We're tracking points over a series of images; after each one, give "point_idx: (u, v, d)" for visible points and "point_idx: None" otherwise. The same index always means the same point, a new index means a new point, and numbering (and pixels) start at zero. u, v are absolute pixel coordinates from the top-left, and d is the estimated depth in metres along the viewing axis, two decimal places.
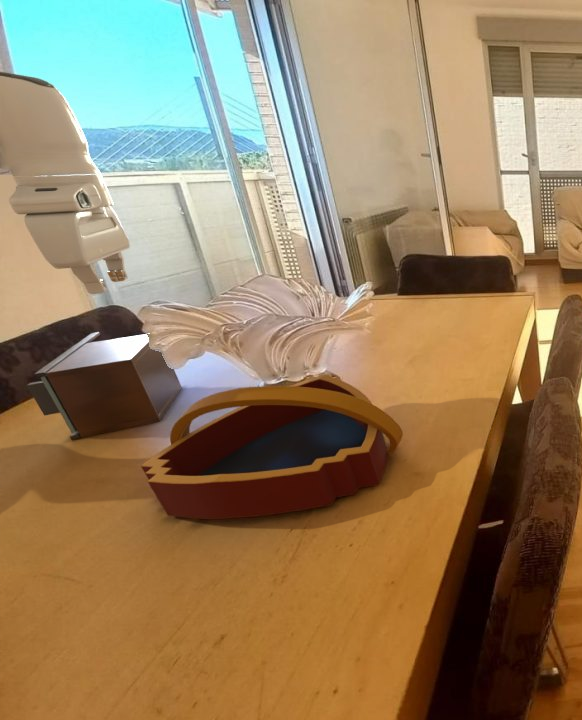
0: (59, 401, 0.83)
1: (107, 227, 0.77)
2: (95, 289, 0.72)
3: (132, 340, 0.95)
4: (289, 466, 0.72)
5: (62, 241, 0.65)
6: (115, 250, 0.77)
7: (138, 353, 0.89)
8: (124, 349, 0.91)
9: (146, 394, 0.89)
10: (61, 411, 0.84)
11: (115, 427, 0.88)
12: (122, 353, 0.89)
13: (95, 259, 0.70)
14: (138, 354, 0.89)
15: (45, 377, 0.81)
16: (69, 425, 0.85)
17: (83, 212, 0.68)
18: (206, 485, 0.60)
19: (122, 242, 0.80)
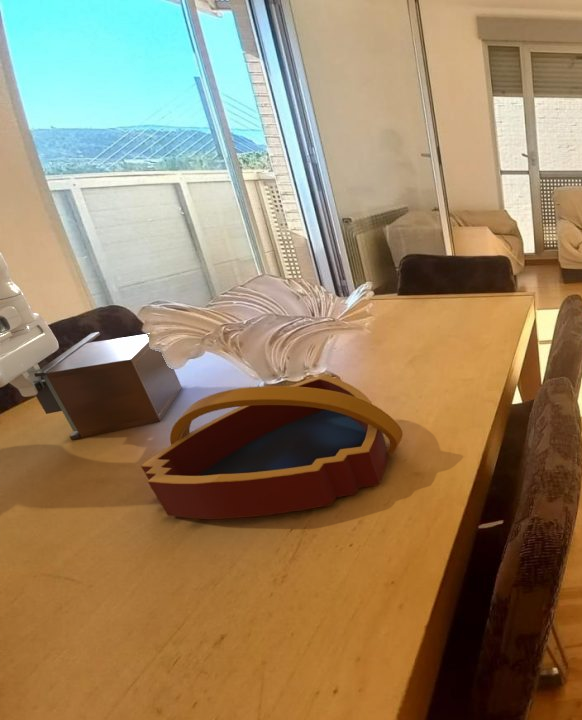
0: None
1: (32, 337, 0.82)
2: (29, 392, 0.80)
3: (132, 340, 0.95)
4: (289, 466, 0.72)
5: None
6: (40, 358, 0.82)
7: (138, 353, 0.89)
8: (124, 349, 0.91)
9: (146, 394, 0.89)
10: (63, 409, 0.84)
11: (115, 427, 0.88)
12: (122, 353, 0.89)
13: (14, 376, 0.75)
14: (138, 354, 0.89)
15: None
16: (71, 423, 0.85)
17: (1, 336, 0.73)
18: (206, 485, 0.60)
19: (49, 347, 0.85)
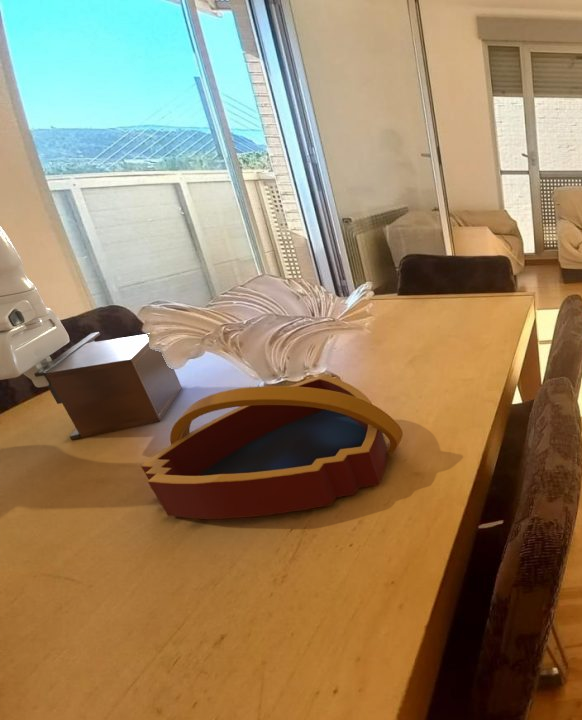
0: None
1: (45, 330, 0.85)
2: (41, 383, 0.84)
3: (132, 340, 0.95)
4: (289, 466, 0.72)
5: None
6: (52, 350, 0.86)
7: (138, 353, 0.89)
8: (124, 349, 0.91)
9: (146, 394, 0.89)
10: None
11: (115, 427, 0.88)
12: (122, 353, 0.89)
13: (28, 367, 0.79)
14: (138, 354, 0.89)
15: None
16: None
17: (16, 328, 0.77)
18: (206, 485, 0.60)
19: (60, 340, 0.89)
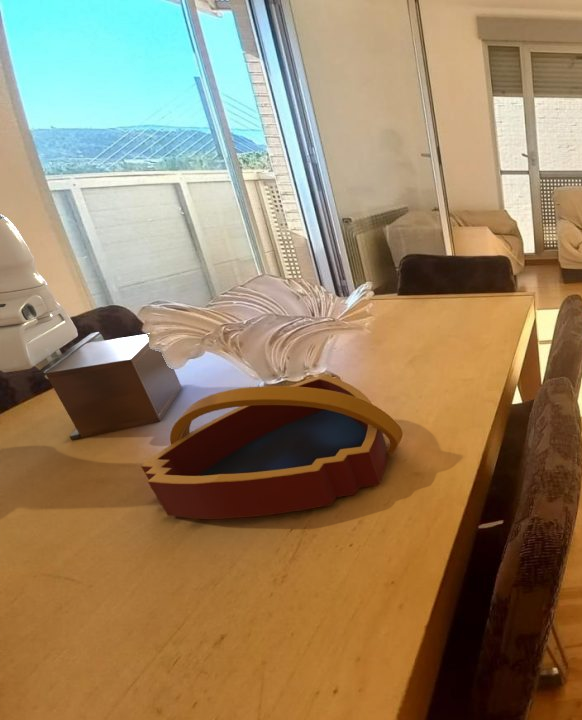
0: None
1: (55, 324, 0.89)
2: None
3: (132, 340, 0.95)
4: (289, 466, 0.72)
5: (9, 350, 0.77)
6: (62, 344, 0.89)
7: (138, 353, 0.89)
8: (124, 349, 0.91)
9: (146, 394, 0.89)
10: None
11: (115, 427, 0.88)
12: (122, 353, 0.89)
13: (40, 359, 0.82)
14: (138, 354, 0.89)
15: None
16: None
17: (28, 322, 0.80)
18: (206, 485, 0.60)
19: (69, 334, 0.92)
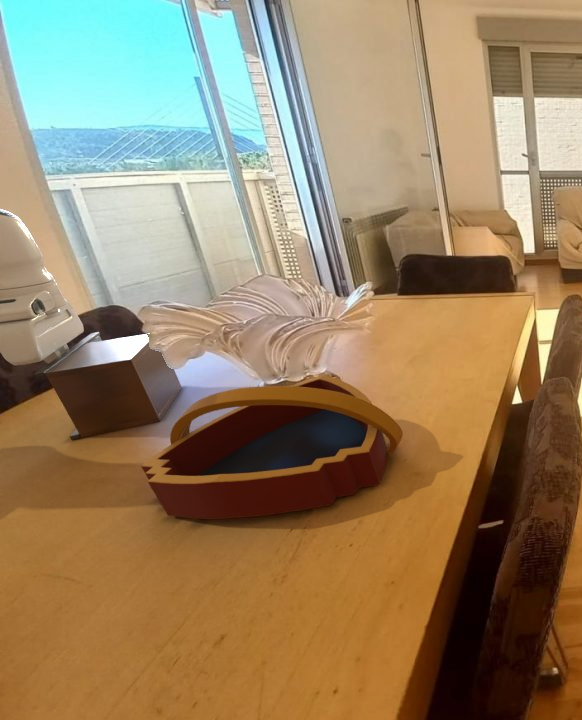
0: None
1: (62, 320, 0.91)
2: None
3: (132, 340, 0.95)
4: (289, 466, 0.72)
5: (19, 344, 0.80)
6: (69, 339, 0.91)
7: (138, 353, 0.89)
8: (124, 349, 0.91)
9: (146, 394, 0.89)
10: None
11: (115, 427, 0.88)
12: (122, 353, 0.89)
13: (49, 353, 0.85)
14: (138, 354, 0.89)
15: None
16: None
17: (38, 317, 0.83)
18: (206, 485, 0.60)
19: (76, 329, 0.94)
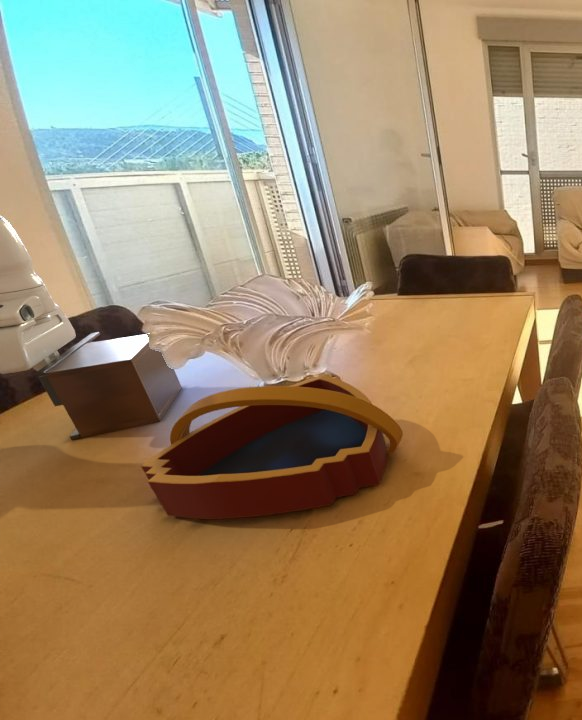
0: None
1: (52, 325, 0.88)
2: None
3: (132, 340, 0.95)
4: (289, 466, 0.72)
5: (6, 352, 0.77)
6: (59, 345, 0.88)
7: (138, 353, 0.89)
8: (124, 349, 0.91)
9: (146, 394, 0.89)
10: None
11: (115, 427, 0.88)
12: (122, 353, 0.89)
13: (38, 361, 0.81)
14: (138, 354, 0.89)
15: None
16: None
17: (26, 323, 0.79)
18: (206, 485, 0.60)
19: (67, 335, 0.91)
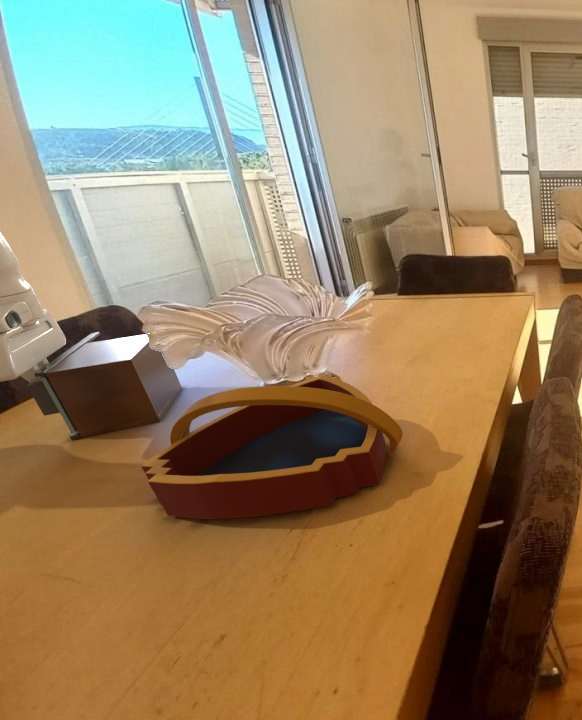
0: (59, 401, 0.83)
1: (41, 332, 0.84)
2: None
3: (132, 340, 0.95)
4: (289, 466, 0.72)
5: None
6: (49, 352, 0.85)
7: (138, 353, 0.89)
8: (124, 349, 0.91)
9: (146, 394, 0.89)
10: (61, 411, 0.84)
11: (115, 427, 0.88)
12: (122, 353, 0.89)
13: (26, 369, 0.78)
14: (138, 354, 0.89)
15: (45, 377, 0.81)
16: (69, 425, 0.85)
17: (13, 330, 0.76)
18: (206, 485, 0.60)
19: (57, 341, 0.88)
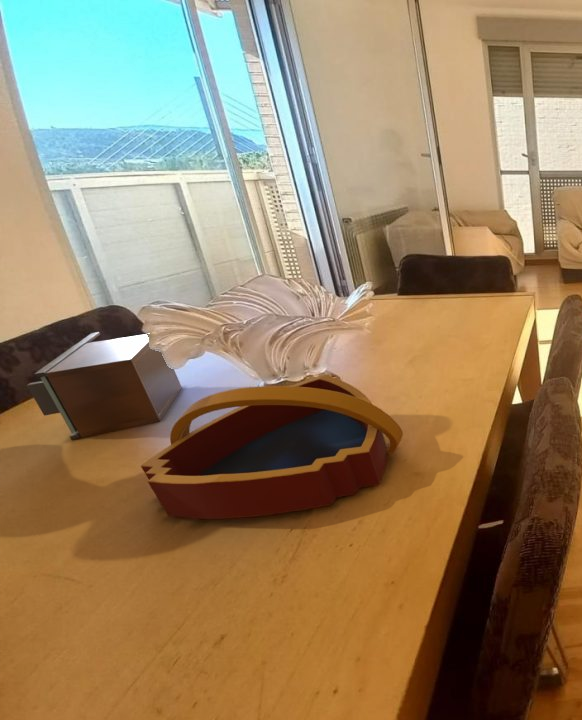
0: (59, 401, 0.83)
1: None
2: None
3: (132, 340, 0.95)
4: (289, 466, 0.72)
5: None
6: None
7: (138, 353, 0.89)
8: (124, 349, 0.91)
9: (146, 394, 0.89)
10: (61, 411, 0.84)
11: (115, 427, 0.88)
12: (122, 353, 0.89)
13: None
14: (138, 354, 0.89)
15: (45, 377, 0.81)
16: (69, 425, 0.85)
17: None
18: (206, 485, 0.60)
19: None
